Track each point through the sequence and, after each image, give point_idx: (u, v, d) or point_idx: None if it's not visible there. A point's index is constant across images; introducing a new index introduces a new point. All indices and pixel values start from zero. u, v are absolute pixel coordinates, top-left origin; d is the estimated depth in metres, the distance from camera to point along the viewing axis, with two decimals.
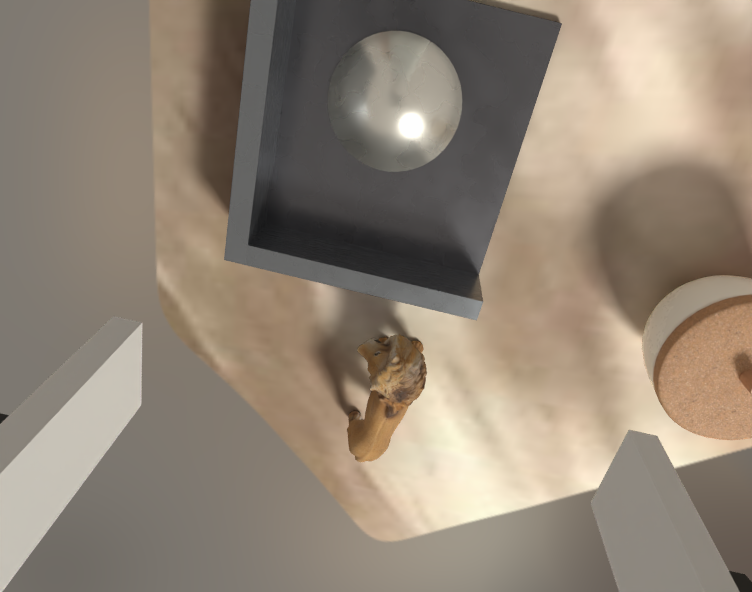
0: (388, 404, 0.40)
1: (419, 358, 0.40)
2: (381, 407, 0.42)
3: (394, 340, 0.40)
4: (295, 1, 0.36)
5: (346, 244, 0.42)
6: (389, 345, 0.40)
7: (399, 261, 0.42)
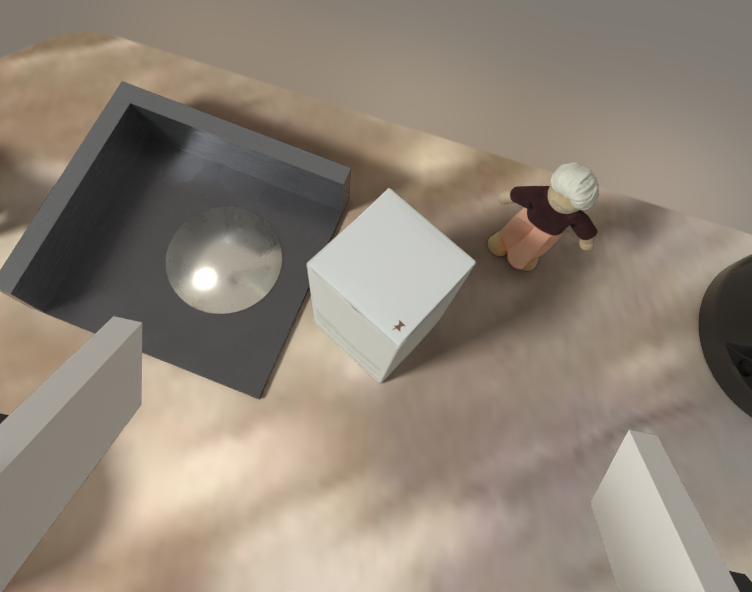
0: None
1: None
2: None
3: None
4: (316, 200, 0.47)
5: (109, 197, 0.45)
6: None
7: (78, 237, 0.43)
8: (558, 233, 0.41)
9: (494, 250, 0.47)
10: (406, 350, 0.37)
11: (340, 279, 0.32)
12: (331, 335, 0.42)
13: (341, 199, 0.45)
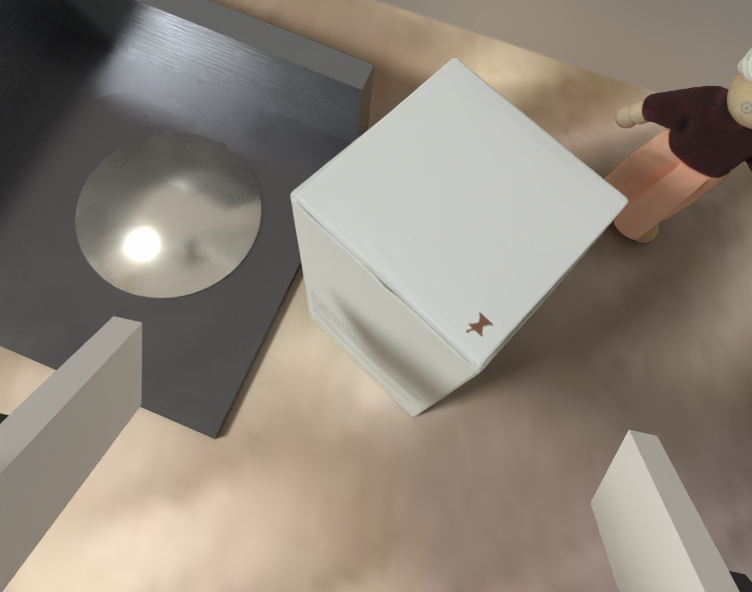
0: None
1: None
2: None
3: None
4: (317, 126, 0.30)
5: None
6: None
7: None
8: (724, 172, 0.24)
9: None
10: None
11: (358, 226, 0.16)
12: (336, 337, 0.26)
13: (357, 121, 0.28)
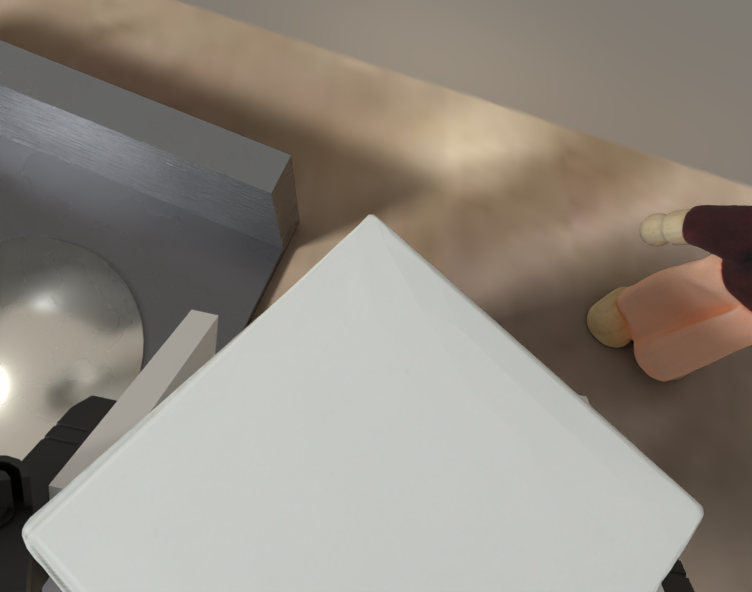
0: None
1: None
2: None
3: None
4: (227, 225, 0.22)
5: None
6: None
7: None
8: None
9: (605, 336, 0.22)
10: None
11: None
12: None
13: (275, 225, 0.20)
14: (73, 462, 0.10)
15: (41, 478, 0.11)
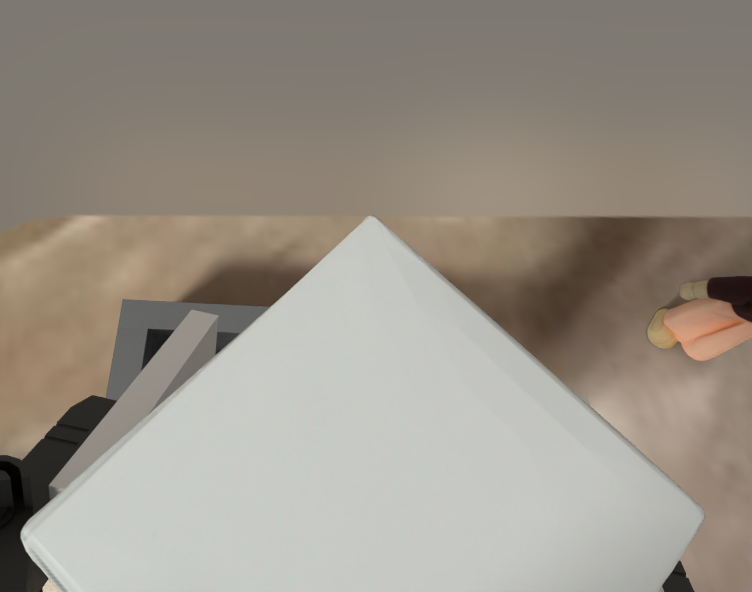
0: None
1: None
2: None
3: None
4: None
5: None
6: None
7: None
8: None
9: (663, 344, 0.36)
10: None
11: None
12: None
13: None
14: (73, 462, 0.10)
15: (41, 478, 0.11)
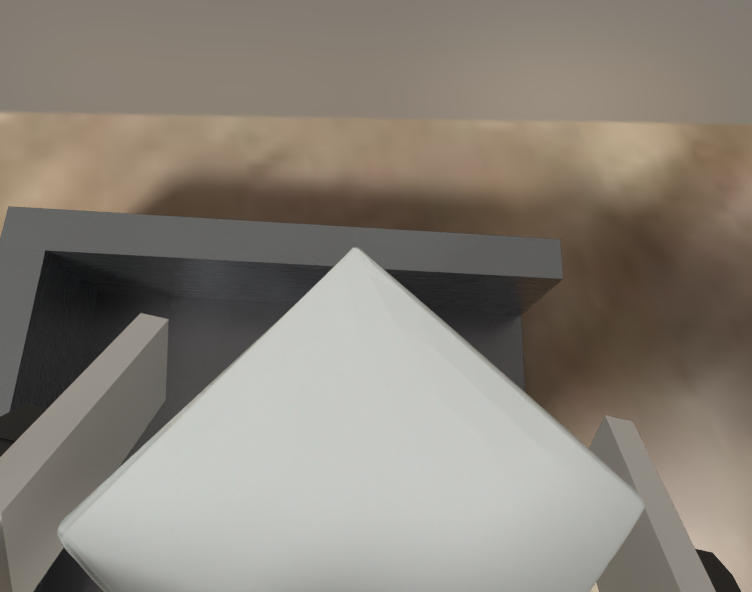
0: None
1: None
2: None
3: None
4: (468, 310, 0.24)
5: None
6: None
7: None
8: None
9: None
10: None
11: None
12: None
13: (535, 300, 0.22)
14: None
15: None
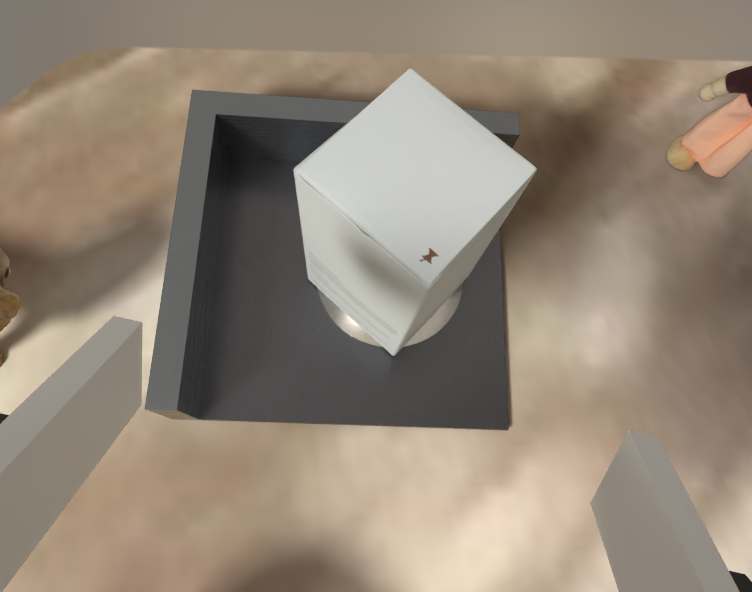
0: None
1: None
2: None
3: (11, 292, 0.27)
4: None
5: (217, 246, 0.34)
6: (1, 285, 0.27)
7: (206, 308, 0.32)
8: None
9: (681, 164, 0.39)
10: (433, 303, 0.27)
11: (342, 190, 0.22)
12: (329, 291, 0.32)
13: None
14: None
15: None
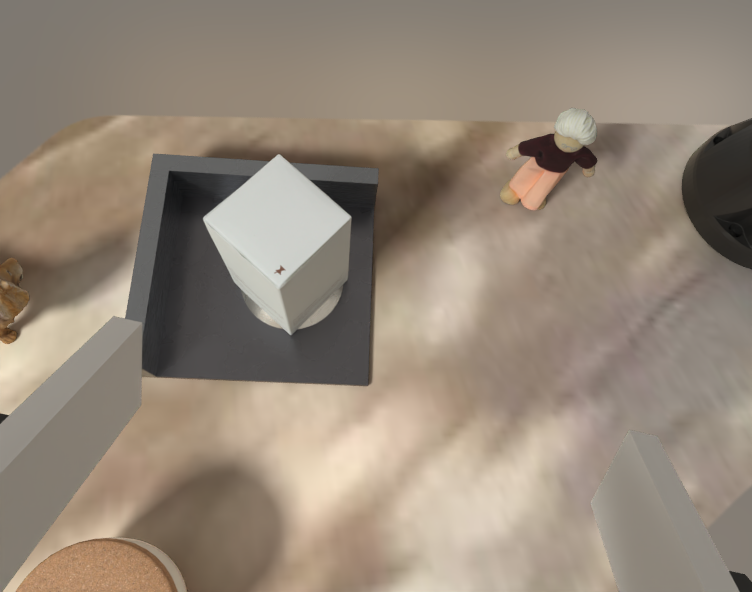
0: None
1: (4, 314, 0.41)
2: None
3: (23, 290, 0.42)
4: (349, 205, 0.52)
5: (172, 259, 0.49)
6: (17, 286, 0.42)
7: (162, 301, 0.47)
8: (566, 169, 0.48)
9: (509, 200, 0.54)
10: (301, 298, 0.42)
11: (231, 231, 0.37)
12: (245, 291, 0.47)
13: (374, 197, 0.51)
14: None
15: None
